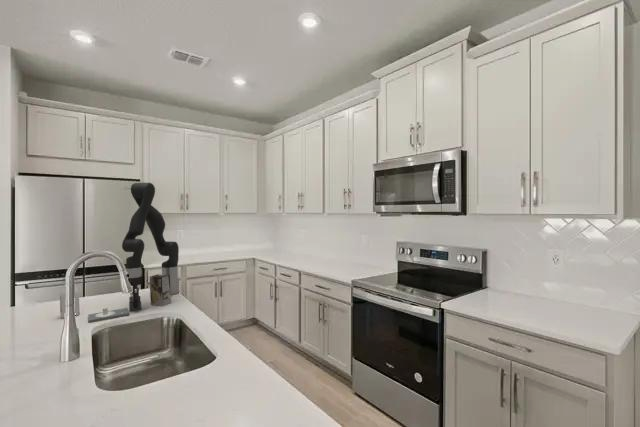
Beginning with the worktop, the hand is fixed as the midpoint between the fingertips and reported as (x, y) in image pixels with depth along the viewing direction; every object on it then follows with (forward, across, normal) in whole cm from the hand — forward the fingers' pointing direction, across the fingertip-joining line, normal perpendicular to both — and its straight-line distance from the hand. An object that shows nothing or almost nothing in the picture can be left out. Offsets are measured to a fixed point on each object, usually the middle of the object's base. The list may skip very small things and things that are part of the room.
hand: (134, 305), depth 172 cm
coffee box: (+2, +3, -13) cm, 14 cm away
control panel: (+2, -3, +12) cm, 12 cm away
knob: (+2, 0, 0) cm, 2 cm away
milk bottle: (+2, +10, +28) cm, 30 cm away
